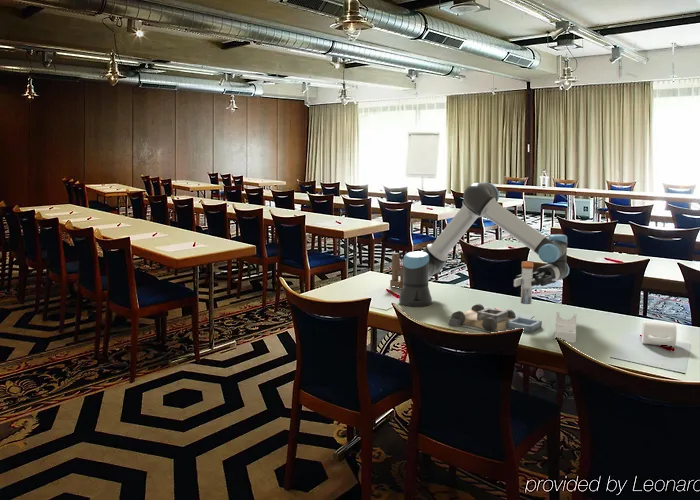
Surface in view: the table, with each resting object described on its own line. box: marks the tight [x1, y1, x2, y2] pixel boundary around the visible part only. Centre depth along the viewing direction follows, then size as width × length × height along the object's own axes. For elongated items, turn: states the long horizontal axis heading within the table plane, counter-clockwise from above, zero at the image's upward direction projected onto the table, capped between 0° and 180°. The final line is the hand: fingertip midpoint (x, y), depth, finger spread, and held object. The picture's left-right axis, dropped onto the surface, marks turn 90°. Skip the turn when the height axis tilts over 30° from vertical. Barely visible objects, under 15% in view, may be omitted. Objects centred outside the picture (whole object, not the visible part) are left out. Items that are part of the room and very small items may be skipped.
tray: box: [505, 316, 543, 334], centre depth 214 cm, size 10×10×2 cm
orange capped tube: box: [520, 260, 534, 305], centre depth 212 cm, size 4×4×16 cm
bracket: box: [554, 312, 578, 343], centre depth 203 cm, size 13×7×8 cm, turn 158°
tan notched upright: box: [389, 252, 403, 289], centre depth 284 cm, size 4×11×18 cm, turn 41°
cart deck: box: [450, 303, 517, 332], centre depth 221 cm, size 20×18×6 cm
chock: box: [448, 317, 462, 327], centre depth 218 cm, size 4×2×2 cm, turn 47°
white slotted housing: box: [641, 320, 677, 348], centre depth 191 cm, size 12×10×8 cm
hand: (520, 284), depth 208 cm, fingers closed on orange capped tube, 4 cm apart
